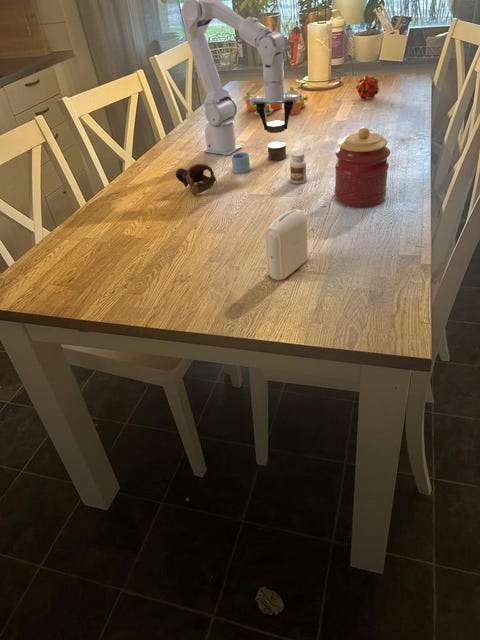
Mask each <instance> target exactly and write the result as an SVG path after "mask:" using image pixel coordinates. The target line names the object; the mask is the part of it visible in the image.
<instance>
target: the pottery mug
mask: <svg viewBox="0 0 480 640" xmlns="http://www.w3.org/2000/svg"><path fill="white" fill-rule="evenodd" d="M205 171H208V172H209V174H210V176H208V175H206V174H204V173H205ZM175 177H176V179H177V180H178V181H179V182H180V183H182V184H183V185H184V188H187V187H188V186H189V187H191V191H190V193H191V195H192V196H195V197H198V195H199V194H201V193H204V192H206V191H209V190H210V189H211V188H212V187H213V186H214V185H215V183H216V182H217V177H216V176H215V172H214V171H213V169H212V167H211V166H209V165H208V164H204V163H195V164H193V165H191V166H190V167H189V168H188V169H186V168H178V169H177V170H176V171H175Z"/></svg>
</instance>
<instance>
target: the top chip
mask: <svg viewBox="0 0 480 640" xmlns="http://www.w3.org/2000/svg"><path fill="white" fill-rule="evenodd" d="M266 125H267V130H266V132H267V133H269V134H278V133H279V134H281V133H283V132H285V131H286V129H285V127H284V125H285V120H284V121H283V120H272V121H267V124H266Z"/></svg>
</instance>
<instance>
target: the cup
mask: <svg viewBox="0 0 480 640" xmlns="http://www.w3.org/2000/svg"><path fill="white" fill-rule="evenodd" d="M250 162H251V161H250V154H249V153H247V152H236V153H233V154H231V164H232V171H233V173H235V174H245V173H246V174H247V173H248V172H250V170H251V164H250Z"/></svg>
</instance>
